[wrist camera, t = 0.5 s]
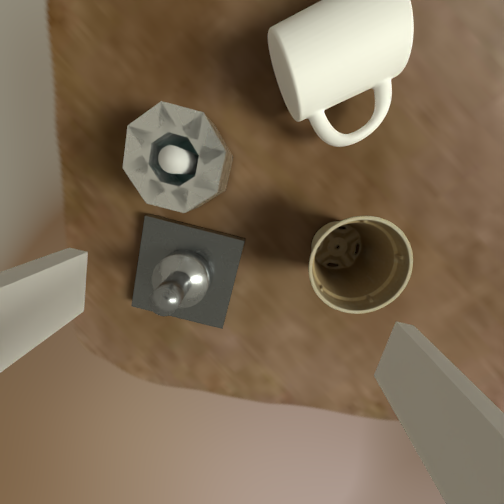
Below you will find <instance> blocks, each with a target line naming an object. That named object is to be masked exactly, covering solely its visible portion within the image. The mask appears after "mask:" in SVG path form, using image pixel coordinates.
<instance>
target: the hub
mask: <svg viewBox="0 0 504 504" xmlns="http://www.w3.org/2000/svg"><path fill="white" fill-rule="evenodd" d="M244 242H245V238H241V237H238V236H234V235H230V234H226V233H222V232H218V231H214V230H210V229H206V228H203V227H199V226H195V225H191V224H187V223H183V222H179V221H175V220H171V219H168V218H164V217H160V216H156V215H152V214H149V215H145V219H144V225H143V232H142V239H141V246H140V252H139V259H138V266H137V273H136V279H135V286H134V293H133V300H132V306H133V307H137V308H141V309H145V310H149V311H153V312H154V313H156V314H158V315H160V316H173V317H177V318H181V319H185V320H189V321H193V322H197V323H201V324H205V325H209V326H213V327H218V328H223V325H224V321H225V317H226V313H227V309H228V305H229V301H230V297H231V293H232V289H233V285H234V281H235V277H236V273H237V269H238V265H239V261H240V257H241V254H242V250H243V246H244Z"/></svg>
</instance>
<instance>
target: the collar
mask: <svg viewBox="0 0 504 504" xmlns="http://www.w3.org/2000/svg"><path fill="white" fill-rule="evenodd" d="M186 141H188V142H191V143H192V145H193V147H194V148H195V150H196V152H197V153H198V155H199V158H198V164H197V169H196V174H195V177H193V178H192V179H190V180H188V181H187V182H185V183H184V182H181V181H179V180H178V178H177V177H176V175H175V174H172V173H168V172H166V171H164V170H163V169H162V168H161V166H160V164H159V160H158V157H159V153H160V151H161V149H162V148H164V147H165V146H168V145H174V146H177V147H178V146H180V145H181V144H183V143H184V142H186ZM232 160H233V156H232V154H231V152H230V150H229V149H228V147H227V145H226V143H225V142H224V140H223V138H222V137H221V135H220V133H219V131H218V130H217V128H216V126H215V125H214V124H213V123H212V122H211V120H210V119H209V118H208V117H207V116H206V115H205V114H204V113H203V112H200V111H196V110H192V109H189V108H185V107H181V106H177V105H174V104H170V103H166V102H162V101H161V102H160V103H158V104H157V105H155V106H154V107H153V108H151V109H150V110H148V111H147V112H146V113H144V114H143V115H141V116H140V117H139V118H137V119H136V120H135V121H133V122H132V123H130V124H129V125H128V126H127V135H126V143H125V151H124V160H123V170H124V171H125V172H126V174H127V175H128V177H129V178H130V180H131V181H132V183H133V184H134V186H135V187H136V189H137V190H138V192H139V193H140V195H141V196H142V198H143V199H144V201H145V202H146V203H147V204H151V205H155V206H159V207H163V208H167V209H171V210H174V211H178V212H182V213H186V212H188V211H191V210H193V209H195V208H198V207H200V206H201V205H203V204H204V203H206V202H208V201H209V200H211V199H213V198H214V197H216V196H217V195H219V194H221V193H222V192H224V191H225V190H226V187H227V183H228V178H229V174H230V169H231V165H232Z"/></svg>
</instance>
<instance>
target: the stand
mask: <svg viewBox="0 0 504 504" xmlns="http://www.w3.org/2000/svg"><path fill="white" fill-rule="evenodd" d="M198 158H199V155H198V153H197V152H196V150H195V148H194V147H193V145H192V143H191V142H188V141H186V142H184V143H183V144H181V145H180V146H178V147H177V146H174V145H168V146H165V147H164V148H162V149H161V151H160V153H159V157H158V160H159V164H160V166H161V168H162V169H163V170H164V171H166V172H168V173H172V174H175V175H176V177H177V178H178V180H179V181H181V182H184V183H185V182H187V181H188V180H190V179H192V178H193V177H195V174H196V169H197V164H198Z"/></svg>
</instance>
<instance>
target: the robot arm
mask: <svg viewBox="0 0 504 504" xmlns="http://www.w3.org/2000/svg"><path fill="white" fill-rule="evenodd" d="M87 256H88V252H86V251H81V250H77V249H73V248H67V249H64V250H62V251H59V252H56V253H53V254H50V255H48V256H45V257H42V258H39V259H36V260H33V261H30V262H28V263H25V264H22V265H19V266H16V267H13V268H11V269H8V270H5V271H2V272H0V372H2V371H3V370H4V369H6V368H7V367H8V366H10V365H11V364H13V363H14V362H15V361H17V360H18V359H19V358H21V357H22V356H23V355H25V354H26V353H27V352H29V351H30V350H32V349H33V348H34V347H36V346H37V345H38V344H40V343H41V342H42V341H44V340H45V339H47V338H48V337H49V336H51V335H52V334H53V333H55V332H56V331H58V330H59V329H60V328H62V327H63V326H64V325H66V324H67V323H68V322H70V321H71V320H73V319H74V318H75V317H77V316H78V315H79V314H81V313H82V312H83V311H84V301H85V286H86V271H87ZM374 377H375V378H376V380H377V382H378V384H379V385H380V387H381V389H382V391H383V393H384V394H385V396H386V398H387V400H388V401H389V403H390V405H391V407H392V409H393V410H394V412H395V414H396V416H397V417H398V419H399V421H400V423H401V425H402V426H403V428H404V430H405V432H406V433H407V435H408V437H409V439H410V440H411V442H412V444H413V446H414V448H415V449H416V451H417V453H418V455H419V456H420V458H421V460H422V462H423V463H424V465H425V467H426V469H427V471H428V472H429V474H430V476H431V478H432V480H433V481H434V483H435V485H436V487H437V489H438V490H439V492H440V494H441V496H442V497H443V499H444V501H445V503H446V504H504V413H503V412H502V411H501V410H500V409H499V408H498V407H497V406H496V405H495V404H494V403H493V402H492V401H491V400H490V399H489V398H488V397H487V396H485V395H484V394H483V393H482V392H481V391H480V390H479V389H478V388H477V387H476V386H475V385H474V384H473V383H472V382H471V381H470V380H469V379H468V378H467V377H466V376H465V375H464V374H463V373H462V372H461V371H460V370H459V369H458V368H457V367H456V366H455V365H454V364H453V363H452V362H451V361H450V360H449V359H448V358H446V357H445V356H444V355H443V354H442V353H441V352H440V351H439V350H438V349H437V348H436V347H435V346H434V345H433V344H432V343H431V342H430V341H429V340H428V339H427V338H426V337H425V336H424V335H423V334H422V333H421V332H420V331H419V330H418V329H417V328H416V327H415V326H414V325H409V324H405V323H400V322H396V323H395V325H394V328H393V330H392V333H391V335H390V338H389V340H388V342H387V345H386V347H385V350H384V352H383V355H382V357H381V359H380V362H379V364H378V367H377V369H376V372H375V374H374Z"/></svg>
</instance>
